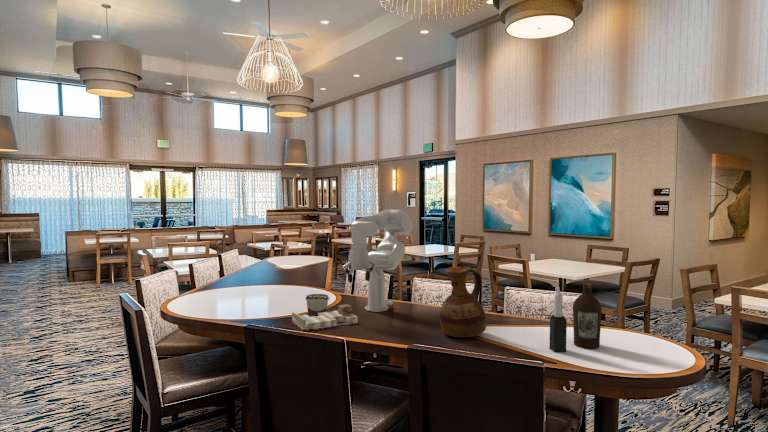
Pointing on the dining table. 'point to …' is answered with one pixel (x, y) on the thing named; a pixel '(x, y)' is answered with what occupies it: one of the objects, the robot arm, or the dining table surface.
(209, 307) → the dining table surface
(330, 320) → the trap board
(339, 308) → the walnut block
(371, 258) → the robot arm
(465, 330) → the ceramic pitcher
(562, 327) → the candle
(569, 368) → the dining table surface
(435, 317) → the dining table surface
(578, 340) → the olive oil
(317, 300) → the food container
